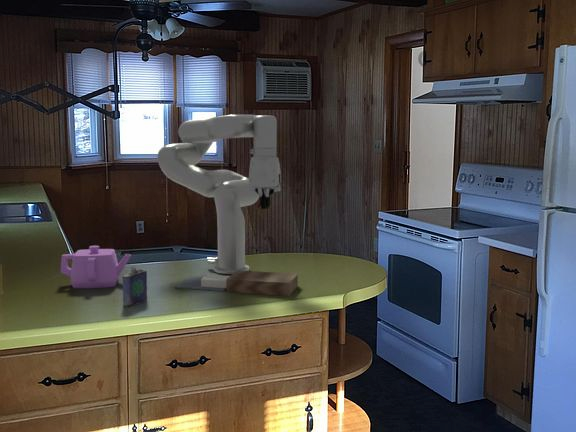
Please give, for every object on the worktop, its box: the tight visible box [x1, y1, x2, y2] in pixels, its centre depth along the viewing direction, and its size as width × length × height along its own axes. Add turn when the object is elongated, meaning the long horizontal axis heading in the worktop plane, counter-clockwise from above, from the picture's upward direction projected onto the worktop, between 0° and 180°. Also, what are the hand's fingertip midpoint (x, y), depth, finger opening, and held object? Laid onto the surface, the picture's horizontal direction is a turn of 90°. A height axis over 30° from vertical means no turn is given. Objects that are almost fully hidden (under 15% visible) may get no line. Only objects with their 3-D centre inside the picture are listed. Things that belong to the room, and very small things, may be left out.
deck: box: [226, 270, 299, 297], centre depth 208 cm, size 20×12×4 cm, turn 77°
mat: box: [174, 276, 227, 292], centre depth 214 cm, size 16×14×1 cm
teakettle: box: [60, 245, 132, 289], centre depth 213 cm, size 17×17×12 cm
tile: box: [201, 274, 231, 288], centre depth 211 cm, size 9×6×2 cm, turn 78°
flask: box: [122, 265, 148, 308], centre depth 192 cm, size 9×3×11 cm, turn 151°
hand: (265, 208), depth 220 cm, fingers closed
